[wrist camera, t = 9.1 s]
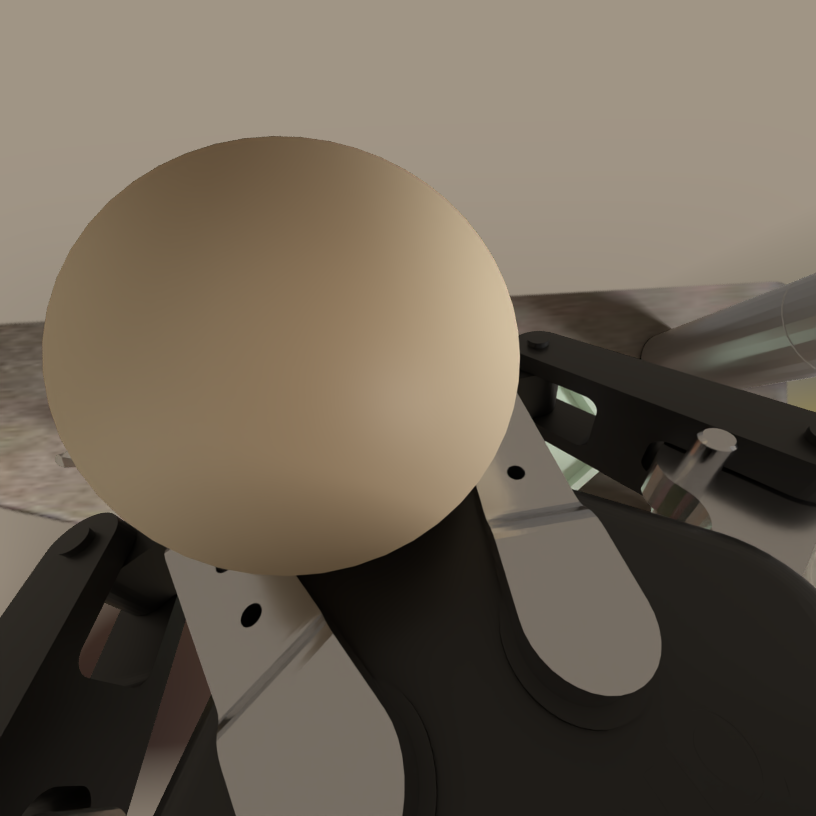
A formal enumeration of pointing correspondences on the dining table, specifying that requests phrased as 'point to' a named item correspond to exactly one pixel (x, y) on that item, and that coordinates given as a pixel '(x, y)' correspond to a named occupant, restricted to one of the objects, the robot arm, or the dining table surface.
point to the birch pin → (281, 356)
